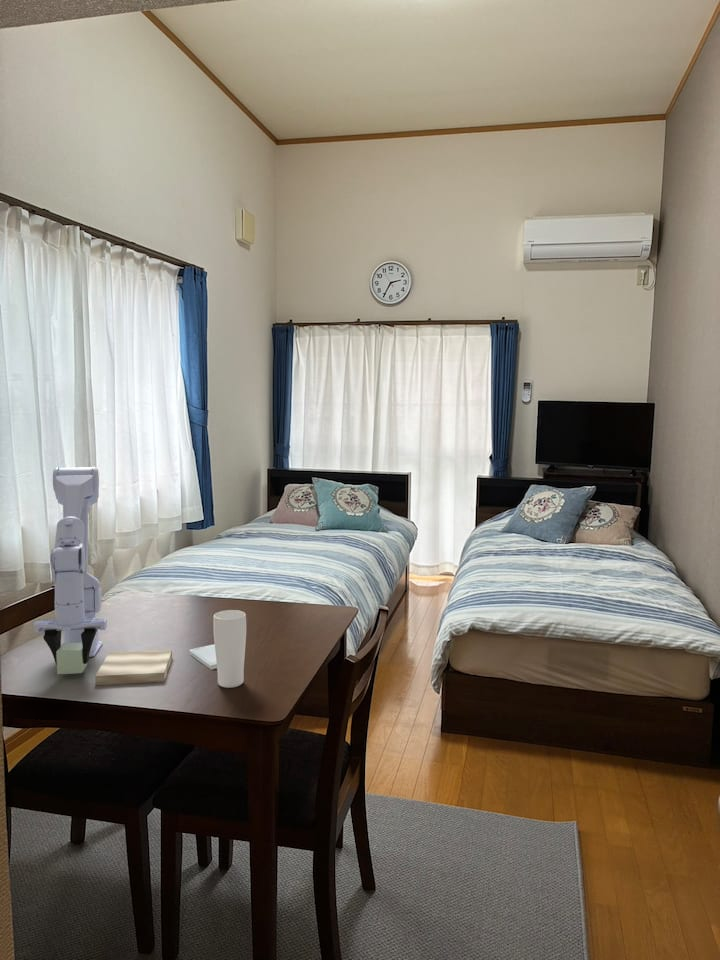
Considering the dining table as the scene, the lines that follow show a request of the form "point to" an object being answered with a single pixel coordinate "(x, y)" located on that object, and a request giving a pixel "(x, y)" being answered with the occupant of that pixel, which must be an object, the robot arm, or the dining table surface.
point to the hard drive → (205, 655)
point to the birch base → (134, 667)
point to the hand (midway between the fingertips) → (72, 662)
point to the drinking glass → (230, 646)
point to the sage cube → (70, 658)
